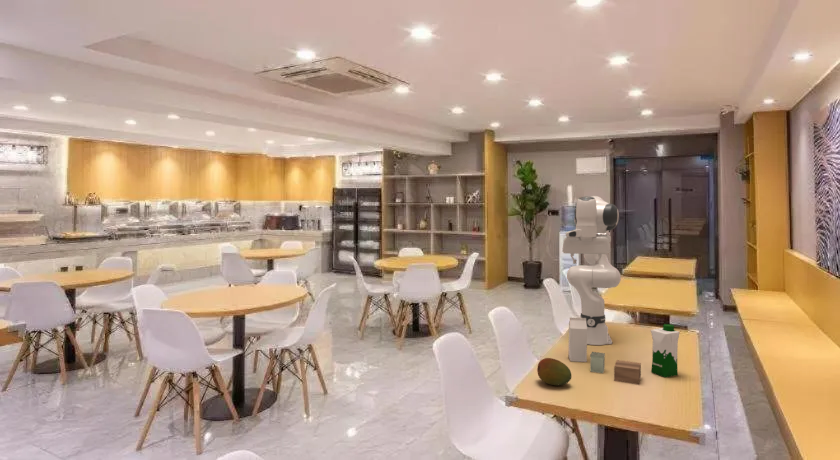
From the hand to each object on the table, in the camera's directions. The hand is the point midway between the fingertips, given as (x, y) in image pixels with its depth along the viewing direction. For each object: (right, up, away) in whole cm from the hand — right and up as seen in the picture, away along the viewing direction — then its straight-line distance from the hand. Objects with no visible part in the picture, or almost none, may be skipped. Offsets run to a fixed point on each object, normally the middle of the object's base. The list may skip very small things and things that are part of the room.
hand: (585, 264), depth 217 cm
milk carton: (-3, -44, +2) cm, 44 cm away
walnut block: (+9, -45, -23) cm, 51 cm away
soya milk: (+26, -44, -17) cm, 54 cm away
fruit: (-22, -45, -28) cm, 57 cm away
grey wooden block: (+1, -44, -13) cm, 46 cm away
